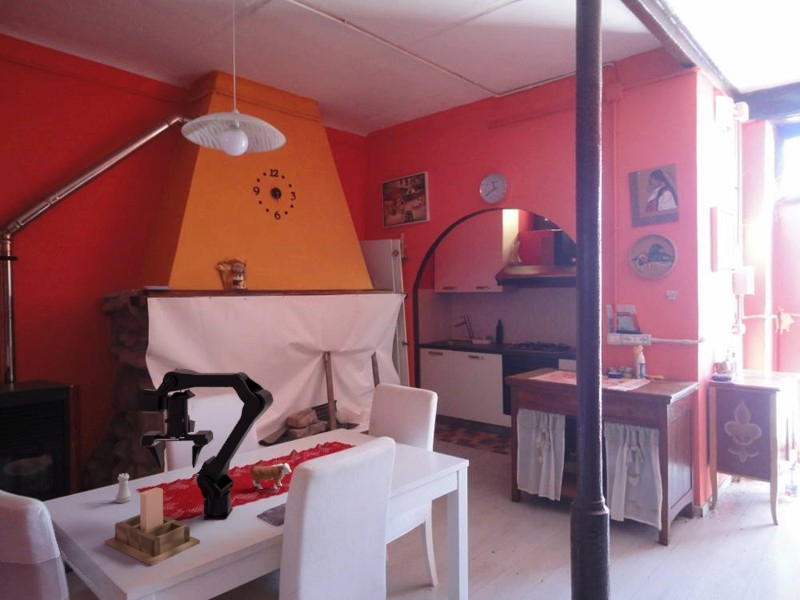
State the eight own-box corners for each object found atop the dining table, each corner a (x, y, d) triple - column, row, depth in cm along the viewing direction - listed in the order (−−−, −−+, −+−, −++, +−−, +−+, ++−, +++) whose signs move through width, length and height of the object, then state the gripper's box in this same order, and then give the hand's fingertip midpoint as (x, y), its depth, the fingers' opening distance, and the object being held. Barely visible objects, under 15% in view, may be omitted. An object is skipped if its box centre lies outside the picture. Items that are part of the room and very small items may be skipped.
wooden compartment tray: (153, 524, 143) (152, 507, 142) (199, 543, 132) (199, 524, 132) (104, 543, 132) (104, 524, 132) (151, 565, 121) (151, 545, 121)
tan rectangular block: (157, 535, 134) (157, 487, 134) (163, 538, 133) (162, 489, 133) (140, 542, 130) (140, 492, 130) (146, 545, 129) (146, 494, 129)
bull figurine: (290, 490, 167) (290, 465, 167) (248, 490, 167) (248, 465, 167) (293, 485, 171) (293, 460, 171) (252, 485, 171) (252, 460, 171)
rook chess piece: (114, 504, 156) (114, 477, 156) (116, 499, 160) (115, 473, 160) (131, 502, 158) (131, 475, 158) (132, 496, 162) (132, 471, 162)
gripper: (218, 407, 158) (219, 458, 159) (155, 407, 157) (156, 459, 158) (206, 415, 147) (207, 470, 147) (139, 416, 146) (139, 472, 147)
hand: (177, 467), depth 150 cm, fingers open, 9 cm apart
